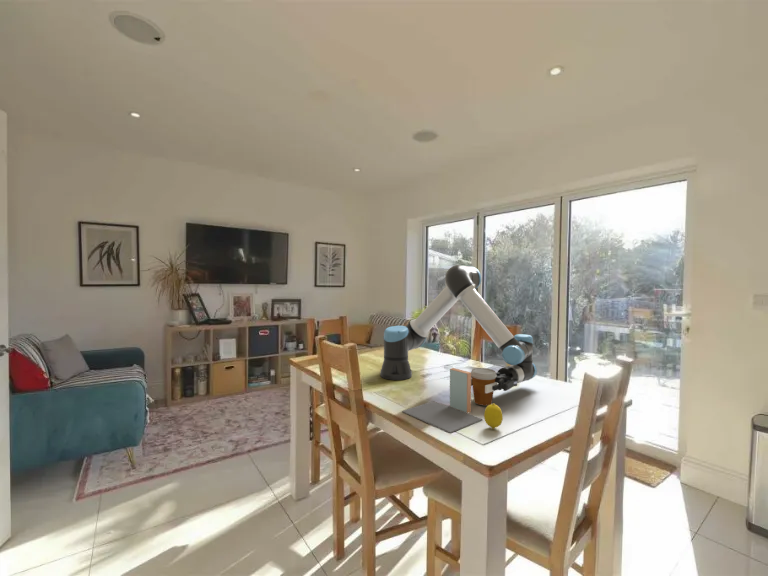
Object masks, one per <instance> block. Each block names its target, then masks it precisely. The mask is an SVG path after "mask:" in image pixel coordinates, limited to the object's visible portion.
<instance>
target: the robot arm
mask: <svg viewBox="0 0 768 576" xmlns="http://www.w3.org/2000/svg"><path fill="white" fill-rule="evenodd" d="M444 279H445V287H444V288H443V289H442V290H441V291H440V292H439V293H438V295H437V296H436V297H435V298H433V300H432V301H431V302H429V304H428V305H427V306H426V308H424V310H423V311H422V312H421V313H420V314H419V315H418V317H416V318H415V319H413V318H412V319H411V320H410V321H408V323H407V324H406V325H395V326H393V325H392V326H388V327H387V328H385V329H384V331H383V362H382V365H381V369H380V371H379V374H380V375H379V376H380V377H381V378H382V379H386V380H388V381H403V380H409V379H410V378H412V376H413V373H412V372H413V371H412V369H411V365H410V361H409V351H412V350H415V349H416V350H417V349H418V348H420V347H422V346H423V345H424V344H425V342H426V341H427V338H428V336H429V333H430V330H431V329H432V328H433V327H434V326H435V325H436V324H437V323H438V322H439V321H440V320H441V319H442V318H443V316H444V315H445V314H446V313H447V312H448V311H449V310H451V308H452V307H454V306H455V304H456V303H458V301H460V302H461V303H463V305H464V306H465V308H467V310H468V311H469V312H470V314H471V315H472V316H473V317H474V319H475V321H477V322H478V324H479V325H480V327H481V328H482V329H483V331H485V333H486V334H487V335H488V337H489V338H490V339H491V340H492V341H493V343H494V344H495V345H496V347H497V348H498V349H499V350H500V352H501V356H502V359H503V361H504V362H505V363H506V364H507V366H504V367H500V368H499V369H498V371H497V372H496V375H497V376H496V378H495V382H494V383H491V384H488V385H485V393H490V392H493V393H494V392H496V391H501V390H503V391H504V392H507V391H508V390H511V389H512V388H513V387H514V388H515V387H517V386H518V384H520V383H523V382H525V381H526V382H527V381H530V380H532V379H533V378H535V377H536V376H537V373H538V369H537V367H536V364H535V363H534V361H533V353H534V351H533V350H534V339H533V336H532V335H530V334H525V333H523V334H522V333H519V334H515V335H513V333H512V332H511V331H510V330H509V329H508V327H507V326H506V325H505V324H504V322H502V320H501V319H500V318H499V316H498V315H497V314H496V312H494V311H493V308H491V307H490V306H489V303H487V302H486V300H485V299H484V298H483V297H482V295H481V294H480V293H479V292H478V291H477V289H478V288H479V287H480V285H481V284H482V283H481V282H482V273H481V272H480V271H479V269H478V268H476V267H475V266H472V265H463V264H455V265H453V266H451V267H450V268H448V269H447V271H446V273H445V278H444ZM471 387H473V384H472V376H471Z"/></svg>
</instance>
